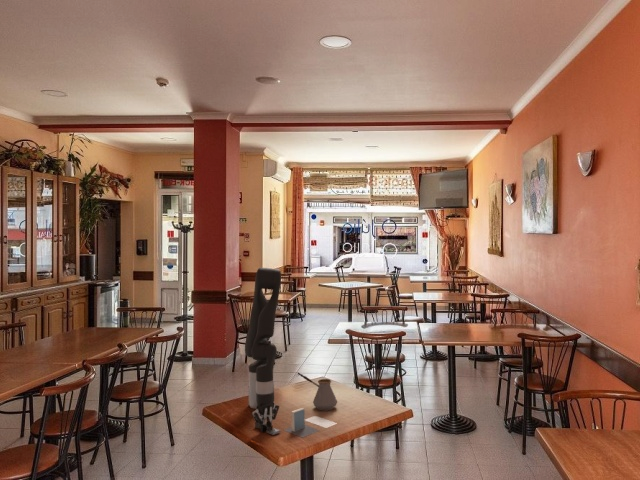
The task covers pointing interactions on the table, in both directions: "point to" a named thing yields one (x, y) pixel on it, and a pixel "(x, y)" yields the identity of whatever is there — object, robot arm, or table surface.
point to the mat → (302, 431)
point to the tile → (298, 419)
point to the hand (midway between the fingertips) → (266, 431)
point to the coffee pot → (323, 394)
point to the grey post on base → (268, 428)
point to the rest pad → (320, 421)
